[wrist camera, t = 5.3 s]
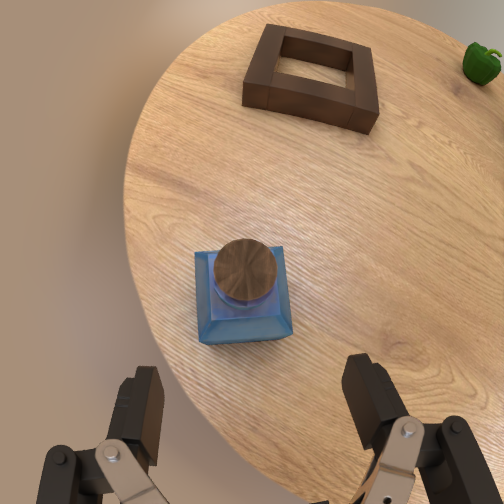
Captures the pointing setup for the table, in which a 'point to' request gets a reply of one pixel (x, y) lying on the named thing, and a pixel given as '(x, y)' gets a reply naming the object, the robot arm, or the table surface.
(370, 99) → the holder
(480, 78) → the bell pepper
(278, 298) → the perfume bottle
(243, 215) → the table surface
